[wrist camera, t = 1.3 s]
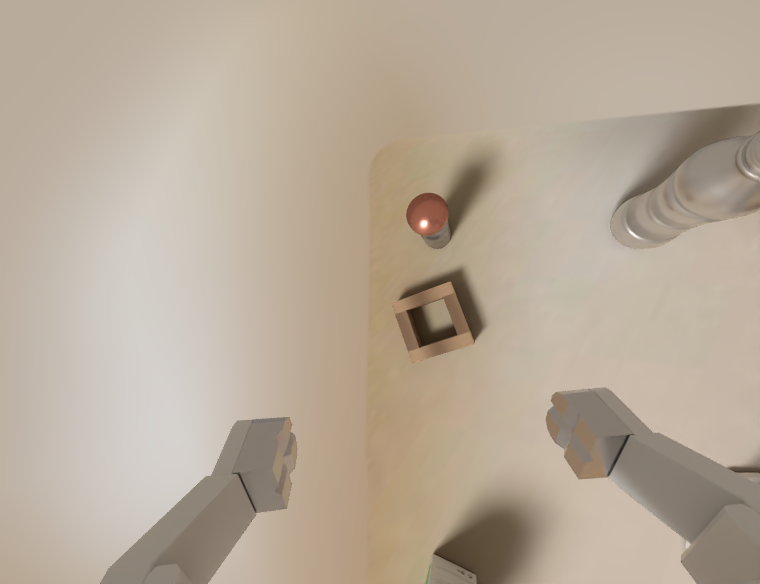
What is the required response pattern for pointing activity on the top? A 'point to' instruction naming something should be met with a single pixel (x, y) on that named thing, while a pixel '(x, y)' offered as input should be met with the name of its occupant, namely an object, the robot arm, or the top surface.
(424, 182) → the top surface
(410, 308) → the collar
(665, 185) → the plastic bottle
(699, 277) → the top surface
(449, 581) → the skincare box
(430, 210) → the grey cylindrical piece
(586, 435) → the robot arm
